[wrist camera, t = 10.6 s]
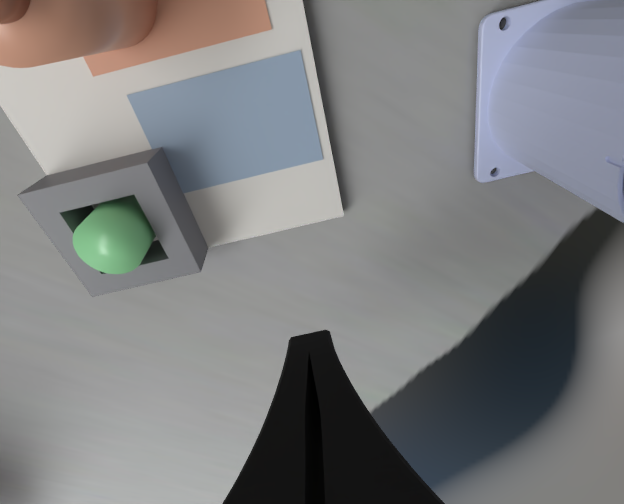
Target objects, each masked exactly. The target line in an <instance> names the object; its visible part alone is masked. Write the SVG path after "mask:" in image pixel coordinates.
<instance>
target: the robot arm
mask: <svg viewBox="0 0 624 504" xmlns="http://www.w3.org/2000/svg"><path fill="white" fill-rule="evenodd" d="M503 17H505V18H506V25H505V27H504V28H503V29H502V30H501V29H500V28H499V23H500V21H501V19H502V18H503ZM494 168H496V171H495V172H494V173H493V174H490V173H491V170H492V169H494ZM533 171H535V172H537V173H539V174H540V175H542V176H544V177H546V178H547V179H549V180H551V181H552V182H554V183H556V184H558V185H559V186H561V187H563V188H564V189H566V190H568V191H570V192H571V193H573V194H575V195H576V196H578V197H580V198H582V199H583V200H585V201H587V202H588V203H590V204H592V205H594V206H595V207H597V208H599V209H600V210H602V211H604V212H606V213H607V214H609V215H611V216H613V217H614V218H616V219H618V220H619V221H621V222H623V223H624V0H540V1H536V2H532V3H528V4H524V5H520V6H517V7H513V8H509V9H505V10H501V11H497V12H493V13H490V14H488V15H486V16H485V17H484V18H483V19H482V20H481V22H480V24H479V31H478V62H477V93H476V124H475V155H474V177H475V179H476V180H477V181H479V182H481V183H485V182H490V181H494V180H498V179H503V178H507V177H511V176H515V175H520V174H524V173H528V172H533ZM223 504H445V503H444V502H443V501H442V500H441V499H440V498H439V497H438V496H437V495H436V494H435V493H434V492H433V491H432V490H431V489H430V487H429V486H428V485H427V484H426V483H425V482H424V481H423V480H422V479H421V477H420V476H419V475H418V474H417V473H416V472H415V471H414V469H413V468H412V467H411V466H410V465H409V464H408V462H407V461H406V460H405V459H404V457H403V456H402V455H401V454H400V453H399V451H398V450H397V449H396V448H395V446H393V444H392V443H391V442H390V440H389V439H388V438H387V436H386V435H385V434H384V432H383V431H382V430H381V428H380V427H379V425H378V424H377V423H376V421H375V420H374V418H373V417H372V416H371V414H370V413H369V411H368V410H367V408H366V407H365V405H364V404H363V402H362V400H361V399H360V397H359V396H358V394H357V392H356V391H355V389H354V387H353V386H352V384H351V382H350V380H349V378H348V377H347V375H346V373H345V371H344V369H343V367H342V365H341V363H340V361H339V359H338V356H337V354H336V352H335V349H334V346H333V342H332V338H331V335H330V331H327V330H323V331H318V332H313V333H309V334H304V335H300V336H295V337H291V339H290V340H289V344H288V350H287V354H286V358H285V362H284V366H283V370H282V373H281V377H280V380H279V383H278V386H277V389H276V392H275V395H274V398H273V401H272V403H271V406H270V409H269V411H268V414H267V417H266V419H265V422H264V424H263V427H262V429H261V431H260V434H259V436H258V438H257V440H256V442H255V444H254V447H253V449H252V451H251V453H250V455H249V457H248V459H247V461H246V463H245V465H244V467H243V469H242V470H241V472H240V474H239V476H238V478H237V480H236V482H235V483H234V485H233V487H232V489H231V490H230V492H229V494H228V495H227V497H226V499H225V500H224V502H223Z"/></svg>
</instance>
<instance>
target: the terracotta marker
mask: <svg viewBox="0 0 624 504" xmlns="http://www.w3.org/2000/svg"><path fill="white" fill-rule="evenodd" d="M156 13H157V0H0V65H1V66H6V67H11V68H30V67H36V66H41V65H45V64H50V63H55V62H60V61H65V60H69V59H74V58H79V57H84V56H89V55H93V54H98V53H103V52H108V51H113V50H117V49H122V48H127V47H131V46H133V45H136V44H137V43H139V42H140V41H142V40H143V39H144V38H145V37H146V36H147V35H148V33H149V32H150V30H151V28H152V27H153V24H154V21H155V18H156Z"/></svg>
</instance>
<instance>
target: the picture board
mask: <svg viewBox="0 0 624 504" xmlns="http://www.w3.org/2000/svg"><path fill="white" fill-rule="evenodd" d="M0 106H1V107H2V109H3V110H4V112H5V113H6V115H7V116H8V118H9V119H10V121H11V122H12V124H13V125H14V127H15V128H16V130H17V131H18V133H19V134H20V136H21V137H22V139H23V140H24V142H25V143H26V145H27V146H28V148H29V149H30V151H31V152H32V154H33V155H34V157H35V158H36V160H37V161H38V163H39V164H40V166H41V167H42V169H43V170H44V172H45V173H46V175H47V176H45V177H44V178H42V179H41V180H39V181H38V182H36V183H35V184H33V185H32V186H30V187H29V188H27V189H26V190H24V191H23V192H21V193H20V194H18V195H17V196H18V197H19V198H20V200H21V201H22V202H23V204H24V205H25V206H26V208H27V209H28V211H29V212H30V213H31V215H32V216H33V217H34V219H35V220H36V221H37V223H38V224H39V225H40V227H41V228H42V230H43V231H44V232H45V234H46V235H47V236H48V238H49V239H50V240H51V242H52V243H53V244H54V246H55V247H56V249H57V250H58V251H59V253H60V254H61V255H62V257H63V258H64V259H65V261H66V262H67V263H68V265H69V266H70V268H71V269H72V270H73V272H74V273H75V274H76V276H77V277H78V278H79V280H80V281H81V282H82V284H83V285H84V286H85V288H86V289H87V291H88V292H89V293H90V295H91V296H92V297H94V296H99V295H103V294H107V293H112V292H116V291H121V290H125V289H129V288H134V287H138V286H142V285H147V284H151V283H155V282H160V281H164V280H168V279H173V278H177V277H181V276H186V275H190V274H194V273H199V272H201V270H202V266H203V263H204V260H205V257H206V254H207V250H208V248H209V247H213V246H217V245H222V244H226V243H230V242H235V241H239V240H243V239H247V238H252V237H256V236H260V235H265V234H269V233H273V232H277V231H282V230H286V229H290V228H295V227H299V226H303V225H307V224H312V223H316V222H320V221H325V220H329V219H333V218H337V217H342V216H344V213H343V208H342V203H341V198H340V192H339V187H338V182H337V177H336V172H335V166H334V161H333V156H332V151H331V146H330V140H329V135H328V130H327V125H326V120H325V114H324V109H323V104H322V99H321V94H320V88H319V83H318V78H317V73H316V68H315V62H314V57H313V52H312V47H311V42H310V36H309V31H308V26H307V21H306V16H305V10H304V5H303V0H157V13H156V18H155V21H154V24H153V27H152V28H151V30H150V32H149V33H148V35H147V36H146V37H145V38H144V39H143V40H142V41H140V42H139V43H137V44H136V45H133V46H131V47H127V48H122V49H117V50H113V51H108V52H103V53H98V54H93V55H89V56H84V57H79V58H74V59H69V60H65V61H60V62H55V63H50V64H45V65H41V66H36V67H30V68H11V67H6V66H1V65H0ZM130 195H135V197H136V199H137V201H138V202H139V204H140V206H141V208H142V210H143V212H144V214H145V215H146V217H147V219H148V221H149V223H150V225H151V227H152V228H153V230H154V232H155V234H156V237H155V239H154V241H153V242H152V244H151V246H150V248H149V249H148V251H147V253H146V255H145V256H144V258H143V260H142V262H141V263H140V265H139V266H138V267H137V268H136V269H134V270H133V271H130V272H128V273H124V274H108V273H104V272H101V271H98V270H96V269H94V268H92V267H90V266H89V265H87V264H86V263H85V262H84V261H83V260H82V259H81V258H80V257H79V256H78V254H77V253H76V251H75V249H74V246H73V234H74V231H75V229H76V228H77V227H78V226H79V225H80V224H81V223H82V222H83V221H84V220H85V219H86V218H87V217H88V216H89V215H90V213H91V212H92V211H93V210H94V209H95V208H96V207H97V206H98V205H99V204H100V203H101V202H105V201H109V200H113V199H118V198H122V197H126V196H130Z"/></svg>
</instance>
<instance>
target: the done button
mask: <svg viewBox="0 0 624 504" xmlns="http://www.w3.org/2000/svg"><path fill="white" fill-rule="evenodd" d="M155 237H156V234H155V232H154V230H153V228H152V227H151V225H150V223H149V221H148V219H147V217H146V215H145V214H144V212H143V210H142V208H141V206H140V204H139V202H138V201H137V199H136V197H135V195H130V196H126V197H122V198H118V199H113V200H109V201H105V202H101V203H100V204H99V205H98V206H97V207H96V208H95V209H94V210H93V211H92V212H91V213H90V215H89V216H88V217H87V218H86V219H85V220H84V221H83V222H82V223H81V224H80V225H79V226H78V227H77V228H76V229H75V231H74V234H73V246H74V249H75V251H76V253H77V254H78V256H79V257H80V258H81V259H82V260H83V261H84V262H85V263H86V264H87V265H89V266H90V267H92V268H94V269H96V270H98V271H101V272H104V273H108V274H124V273H128V272H130V271H133V270H134V269H136V268H137V267H138V266H139V265H140V263H141V262H142V260H143V258H144V256H145V255H146V253H147V251H148V249H149V248H150V246H151V244H152V242H153V241H154V239H155Z"/></svg>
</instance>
